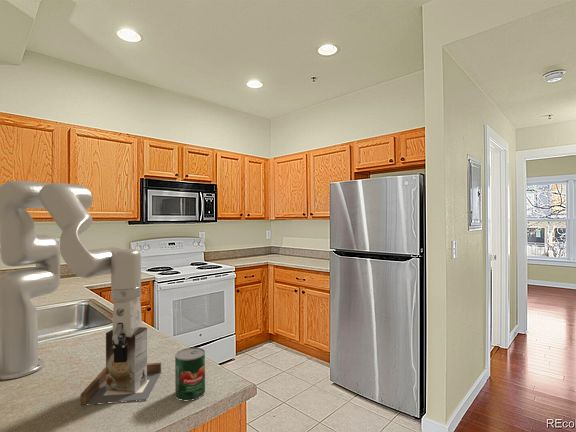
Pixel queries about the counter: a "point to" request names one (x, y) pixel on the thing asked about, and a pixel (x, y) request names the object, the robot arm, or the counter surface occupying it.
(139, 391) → the corner mat
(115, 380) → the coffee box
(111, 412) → the counter surface
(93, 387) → the corner walls
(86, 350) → the counter surface
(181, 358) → the canned tomato
